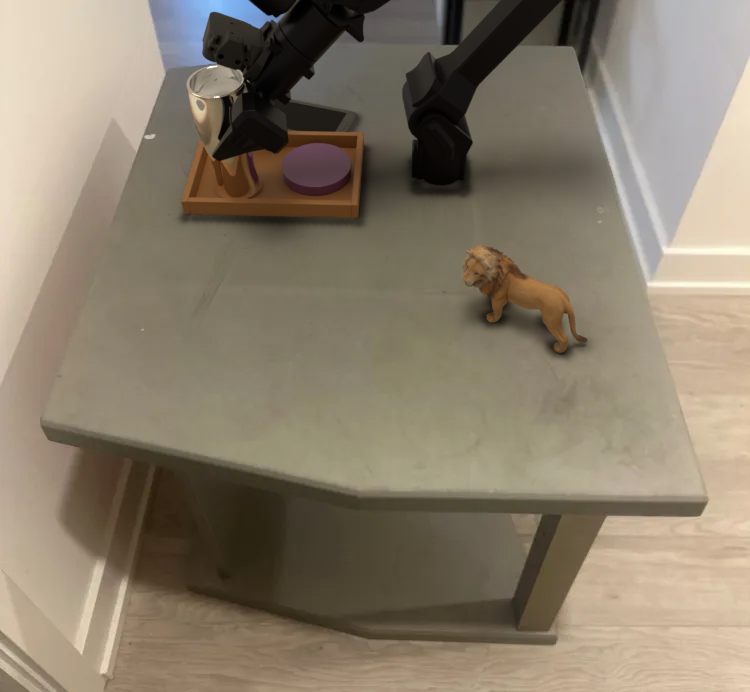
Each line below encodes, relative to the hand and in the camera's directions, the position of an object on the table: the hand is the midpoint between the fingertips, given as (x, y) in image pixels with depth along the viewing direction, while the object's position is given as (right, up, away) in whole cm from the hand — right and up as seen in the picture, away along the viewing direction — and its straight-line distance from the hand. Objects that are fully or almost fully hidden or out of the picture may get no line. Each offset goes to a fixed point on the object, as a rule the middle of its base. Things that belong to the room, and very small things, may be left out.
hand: (215, 134), depth 88 cm
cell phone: (+9, +6, +16) cm, 20 cm away
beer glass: (+2, -5, +7) cm, 8 cm away
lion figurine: (+35, -23, -7) cm, 42 cm away
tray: (+6, -4, +8) cm, 11 cm away
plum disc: (+12, -3, +8) cm, 14 cm away
